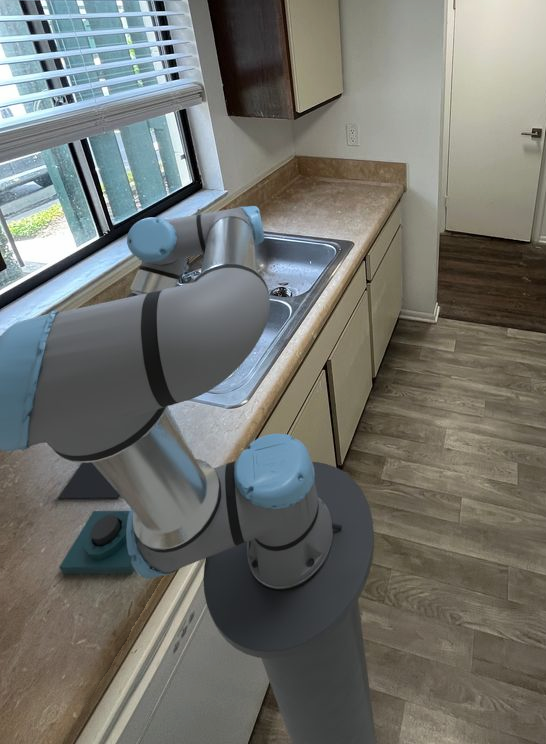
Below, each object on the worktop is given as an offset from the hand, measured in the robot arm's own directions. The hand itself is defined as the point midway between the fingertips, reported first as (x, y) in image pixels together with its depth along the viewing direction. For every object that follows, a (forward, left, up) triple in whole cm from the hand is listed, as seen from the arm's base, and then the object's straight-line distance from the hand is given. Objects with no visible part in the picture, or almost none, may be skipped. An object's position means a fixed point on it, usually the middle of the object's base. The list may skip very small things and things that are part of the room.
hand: (98, 422), depth 79 cm
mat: (+8, -5, -20) cm, 22 cm away
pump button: (-2, +9, -17) cm, 19 cm away
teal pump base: (-2, +9, -20) cm, 23 cm away
